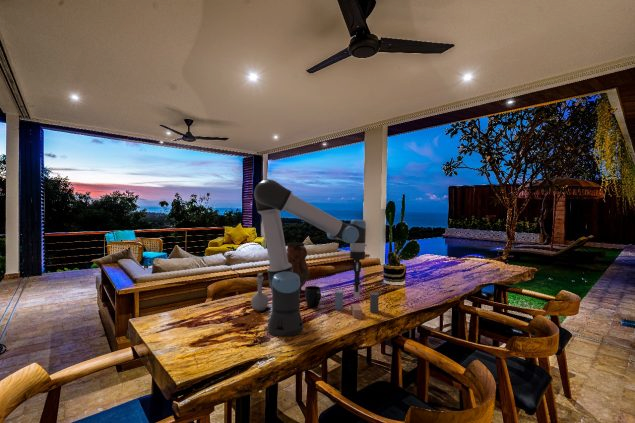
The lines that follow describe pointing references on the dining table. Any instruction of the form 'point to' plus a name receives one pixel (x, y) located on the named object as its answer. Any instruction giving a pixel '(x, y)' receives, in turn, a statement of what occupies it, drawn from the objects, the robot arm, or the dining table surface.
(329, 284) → the dining table surface
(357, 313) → the terracotta block
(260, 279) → the potion bottle
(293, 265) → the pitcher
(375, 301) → the charcoal block
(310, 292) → the mug
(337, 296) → the slate block
